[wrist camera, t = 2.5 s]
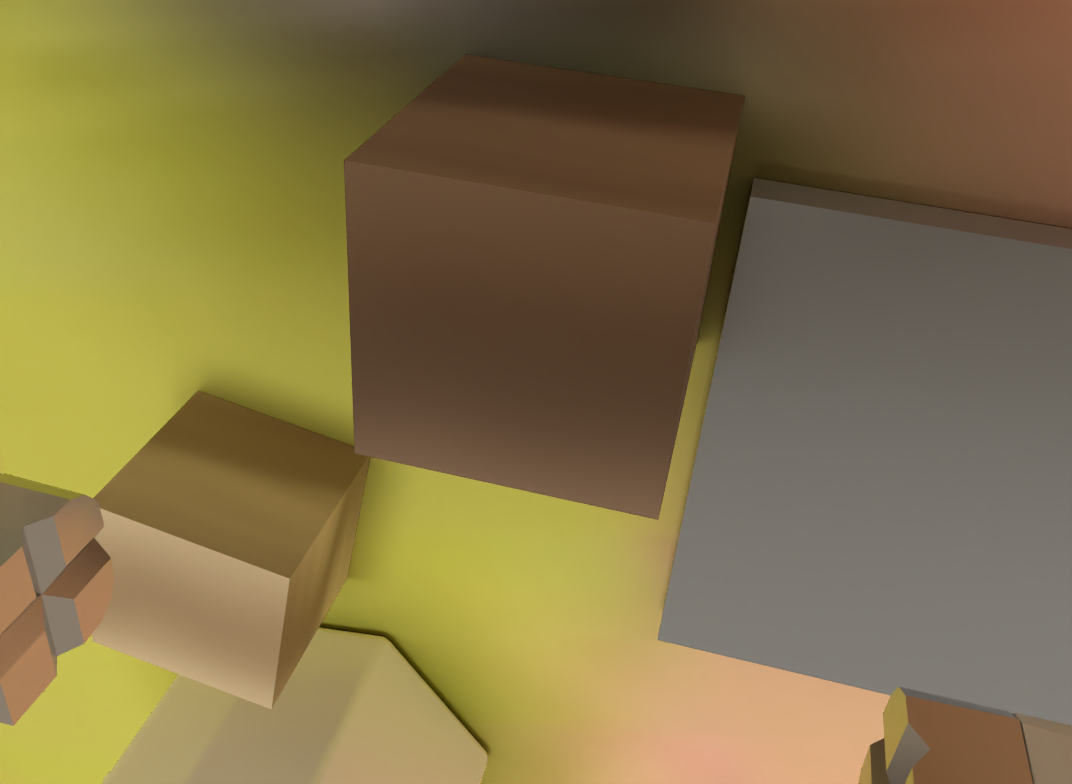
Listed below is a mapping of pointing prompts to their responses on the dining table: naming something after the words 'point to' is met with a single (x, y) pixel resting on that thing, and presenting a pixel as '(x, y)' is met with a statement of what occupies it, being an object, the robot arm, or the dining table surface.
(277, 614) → the oak block
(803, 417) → the coaster
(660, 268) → the walnut block
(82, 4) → the dining table surface
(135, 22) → the dining table surface
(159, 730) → the jar
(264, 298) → the dining table surface
